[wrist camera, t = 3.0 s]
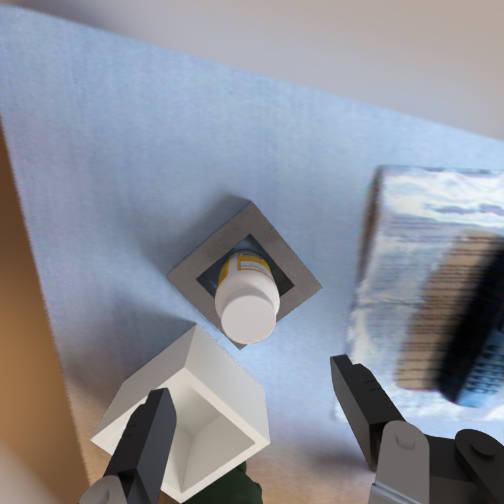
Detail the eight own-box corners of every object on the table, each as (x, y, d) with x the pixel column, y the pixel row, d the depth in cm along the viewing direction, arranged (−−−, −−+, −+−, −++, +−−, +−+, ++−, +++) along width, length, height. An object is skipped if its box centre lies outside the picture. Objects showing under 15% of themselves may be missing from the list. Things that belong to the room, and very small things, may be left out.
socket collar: (251, 200, 25) (253, 202, 23) (315, 278, 28) (322, 287, 25) (172, 268, 27) (165, 277, 24) (239, 336, 29) (239, 350, 27)
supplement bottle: (234, 304, 28) (232, 364, 19) (211, 263, 27) (196, 306, 17) (278, 283, 28) (298, 334, 18) (256, 240, 26) (266, 273, 17)
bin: (197, 323, 28) (184, 366, 22) (263, 387, 31) (270, 443, 25) (123, 382, 30) (89, 439, 23) (192, 437, 33) (180, 503, 26)
